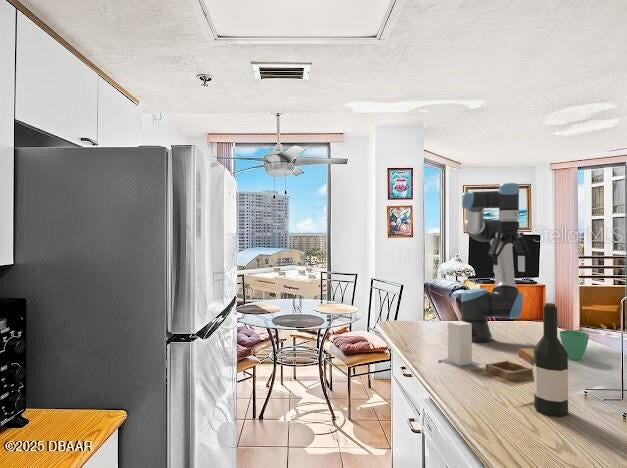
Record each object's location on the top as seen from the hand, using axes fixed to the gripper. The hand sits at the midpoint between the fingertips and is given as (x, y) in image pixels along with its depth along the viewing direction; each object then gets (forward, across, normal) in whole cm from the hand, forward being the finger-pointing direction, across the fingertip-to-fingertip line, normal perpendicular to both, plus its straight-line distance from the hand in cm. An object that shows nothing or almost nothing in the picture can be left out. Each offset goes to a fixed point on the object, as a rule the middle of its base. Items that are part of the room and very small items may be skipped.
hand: (509, 272), depth 170 cm
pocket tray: (+33, -22, -20) cm, 45 cm away
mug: (+34, +20, -13) cm, 41 cm away
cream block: (+33, -29, -3) cm, 44 cm away
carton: (+34, -1, -15) cm, 37 cm away
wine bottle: (+33, -34, -46) cm, 66 cm away
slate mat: (+33, -29, -3) cm, 44 cm away
